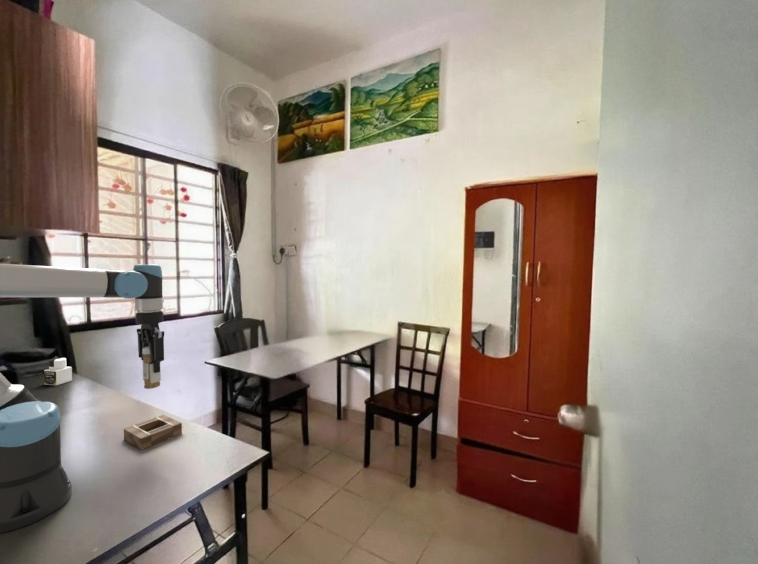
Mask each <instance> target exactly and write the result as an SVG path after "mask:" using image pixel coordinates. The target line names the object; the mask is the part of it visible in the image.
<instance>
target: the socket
mask: <svg viewBox="0 0 758 564" xmlns="http://www.w3.org/2000/svg"><path fill="white" fill-rule="evenodd" d="M182 424H183V423H182V422H181V421H178V420H177V419H175V418H171V417H169V416H168V415H165V414H162V415H159V416H156V417H153V418H150V419H147V420H145V421H142V422H138V423H136V424H132V425H131V426H128V427H125V428H123V440H124V441H126V442H128V443H130V445H133V446H134V447H136V448H138V449H140V451H141V450H144V449H147V448H149V447H151V446H154V445H156V444H158V443H162V442H164V441H166V440H168V438H169V439H171V438H173V437H176V436H178V435H180V434H179V433H181V434H182V433H183V425H182ZM177 434H178V435H177ZM175 435H176V436H175Z"/></svg>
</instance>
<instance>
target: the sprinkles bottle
mask: <svg viewBox="0 0 758 564" xmlns="http://www.w3.org/2000/svg"><path fill="white" fill-rule="evenodd" d="M142 353H143V360H142V361H143V362H144V363H143V362H142V369H143V368H144V380H143V381H144V382H143V384H144V386H143V388H144V389H147V390H150V389H151V390H152V389H155V388H159V387H160V386H161V381H159V382H155V383H151V381H150V364H149V362H151V355H150V348H149V346H148V347H144V348H143V349H142Z"/></svg>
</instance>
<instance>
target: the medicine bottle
mask: <svg viewBox="0 0 758 564" xmlns="http://www.w3.org/2000/svg"><path fill="white" fill-rule="evenodd" d="M43 379H44V380H43V382H44V384H43V385H45V386H46V385H49V386H59V385H62V384H65V383H69V382H72V381H73V368H72V366H67V358H66V357H56V358H52V359H50V360H48V369H44V370H43Z"/></svg>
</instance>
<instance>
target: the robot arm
mask: <svg viewBox="0 0 758 564" xmlns="http://www.w3.org/2000/svg"><path fill="white" fill-rule="evenodd" d="M0 298H118V299H119V298H120V299H121V298H122V299H134V311H136V313H135V315H134V316H135V324H137V325H140V328H136V334H137V347H138V348H137V351H138V358H140V360H141V361H142V364H143V363H144V362H143V353H142V349H143V348H144V347H148V346H149V348H150V355H151V362H149V364H150V381H151V383H155V382H159V381H160V382H161V381H162V380H161V379H162V377H161V376H162V374H161V372H162V371H161V362H163V361H165V345H164V344H165V343H164V342H165V339H164V338H165V331H163V330H162V331H161V329H160V325H159V324H160V323H163V322H164V311H163V309H164V305H163V304H164V303H165V302H164V301H165V300H164V299H163V271H162V267H161V266H160V264H156V263H155V264H145V263H144V264H141V263H140V264H138V263H137V264H134V265H133V269H131V270H118V269H116V270H115V269H101V268H98V269H97V268H85V267H84V268H82V267H66V266H64V267H63V266H53V265H51V266H49V265H48V266H47V265H32V264H31V265H30V264H14V263H13V264H12V263H0ZM142 380H143V381H144V368H143V367H142ZM61 421H62V415H61V412H60V408H59V406H58V405H57V404H56V403H53V402H50V401H41V400H38V399H37V398H36V397H35V396H34V395H33V394H32V393H31V392H30V390H29V389H27V388H26V386H25V385H23V384H17V383H15V384H14V383H13V384H12V383H11V382H10V381H9V380H8V379H7V378H6V376H4V375H3V373H1V372H0V534H2V533H6V532H10V531H14V530H17V529H21V528H23V527H25V526H29V525H31V524H34V523H36V522H38V521H40V520H42V519H44V518H46V517H47V516H50V515H51V514H53V513H54V512H56V511H58V510H59V509H61V508H62V507H63V506H64V505H65V504H66V503H67V502H68V501H69V500H70V498H71V497H72V495H73V485H72V482H71V480H70V479H69V478H68V475H67V473H66V471H65V470H64V467H63V466H62V449H61V448H62V446H61V445H62V443H61Z"/></svg>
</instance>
